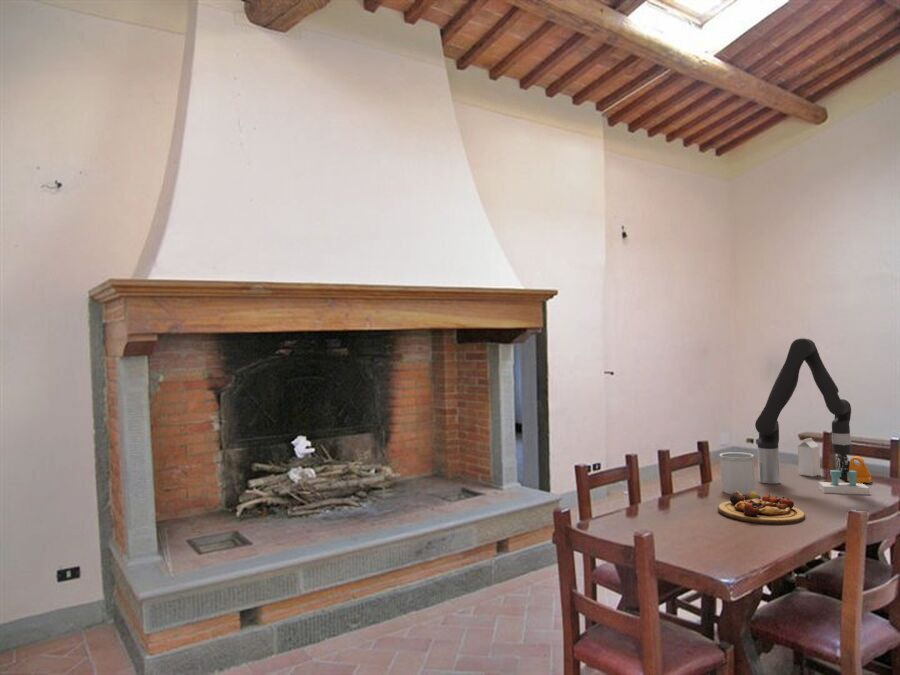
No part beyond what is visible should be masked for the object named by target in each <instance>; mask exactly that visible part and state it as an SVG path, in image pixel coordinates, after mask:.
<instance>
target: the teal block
mask: <svg viewBox="0 0 900 675" xmlns="http://www.w3.org/2000/svg"><path fill="white" fill-rule="evenodd" d="M829 473H830V474H829V475H830V477H831V483H832V484H833V485H838V483H839V477H841V470H835V469H830V470H829ZM847 477H849V481H848V483H849V485H851V486H856V477H857V472H856V471H849V472H848V473H847Z"/></svg>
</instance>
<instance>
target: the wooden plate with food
mask: <svg viewBox="0 0 900 675" xmlns="http://www.w3.org/2000/svg"><path fill="white" fill-rule="evenodd" d="M781 497H782V498H781ZM781 497H780V498H778V496H771V495H770V493H766V494H764V495H763V496H762V498H761V496H760V494H758V493H757V492H756V491H755V492H754V491H751V492H749V493H747V494H746V495H742V494H741V493H739V492H738V491H735V492H733V493H732V494H730V495H729V501H724V502H721V503H719V505H718V506H717V510H718V512H719V513H720V514H722V515H723V516H726V517H727V518H731V519H734V520H738V521H742V522H743V521H744V522H748V523H755V524H756V523H757V524H765V525H791V524H792V525H793V524H797V523H800V522H802V521H804V520H805V518H806V515H805V514H806V513H805V512H804V511H802V510H801V509H799V508H796V507H794V506H795V503H794V500H792V499H791V498H785V497H784V496H781Z"/></svg>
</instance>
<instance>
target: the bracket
mask: <svg viewBox="0 0 900 675" xmlns="http://www.w3.org/2000/svg"><path fill="white" fill-rule="evenodd" d="M854 461H857V462H858V463H859V464H856V463H855V462H854ZM849 462H850V464H849V471H856V472H857V477H856V483H862V484H863V483H864V484H865V483H866V484H867V483H871V482H872V475H871V472H870V471H869V469H868V467H867V464H866V463H865V461H864V459H863V458H862V457H861V456H858V455H855V456H853V457H851V459H850V460H849ZM847 479H848V480H847V481H846V482H849V477H847Z"/></svg>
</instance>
